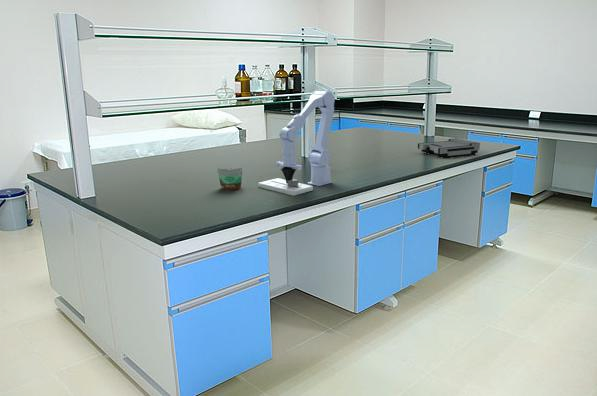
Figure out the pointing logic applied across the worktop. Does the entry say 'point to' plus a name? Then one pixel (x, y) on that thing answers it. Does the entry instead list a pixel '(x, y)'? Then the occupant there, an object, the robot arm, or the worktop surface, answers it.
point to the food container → (230, 178)
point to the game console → (450, 148)
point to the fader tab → (293, 183)
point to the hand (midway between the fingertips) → (288, 183)
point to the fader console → (285, 187)
